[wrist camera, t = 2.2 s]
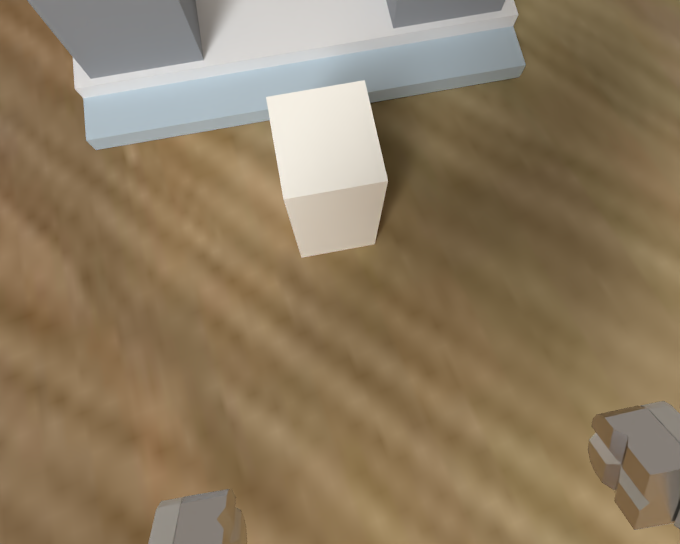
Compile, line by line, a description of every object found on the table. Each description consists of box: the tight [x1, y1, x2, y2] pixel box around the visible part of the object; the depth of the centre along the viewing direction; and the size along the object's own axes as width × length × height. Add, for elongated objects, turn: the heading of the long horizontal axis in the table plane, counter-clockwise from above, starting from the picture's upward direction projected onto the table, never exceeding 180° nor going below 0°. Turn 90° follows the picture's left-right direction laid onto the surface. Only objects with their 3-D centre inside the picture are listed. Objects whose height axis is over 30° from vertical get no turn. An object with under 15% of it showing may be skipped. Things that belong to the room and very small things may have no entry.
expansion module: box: [266, 80, 388, 257], centre depth 25 cm, size 5×4×9 cm
